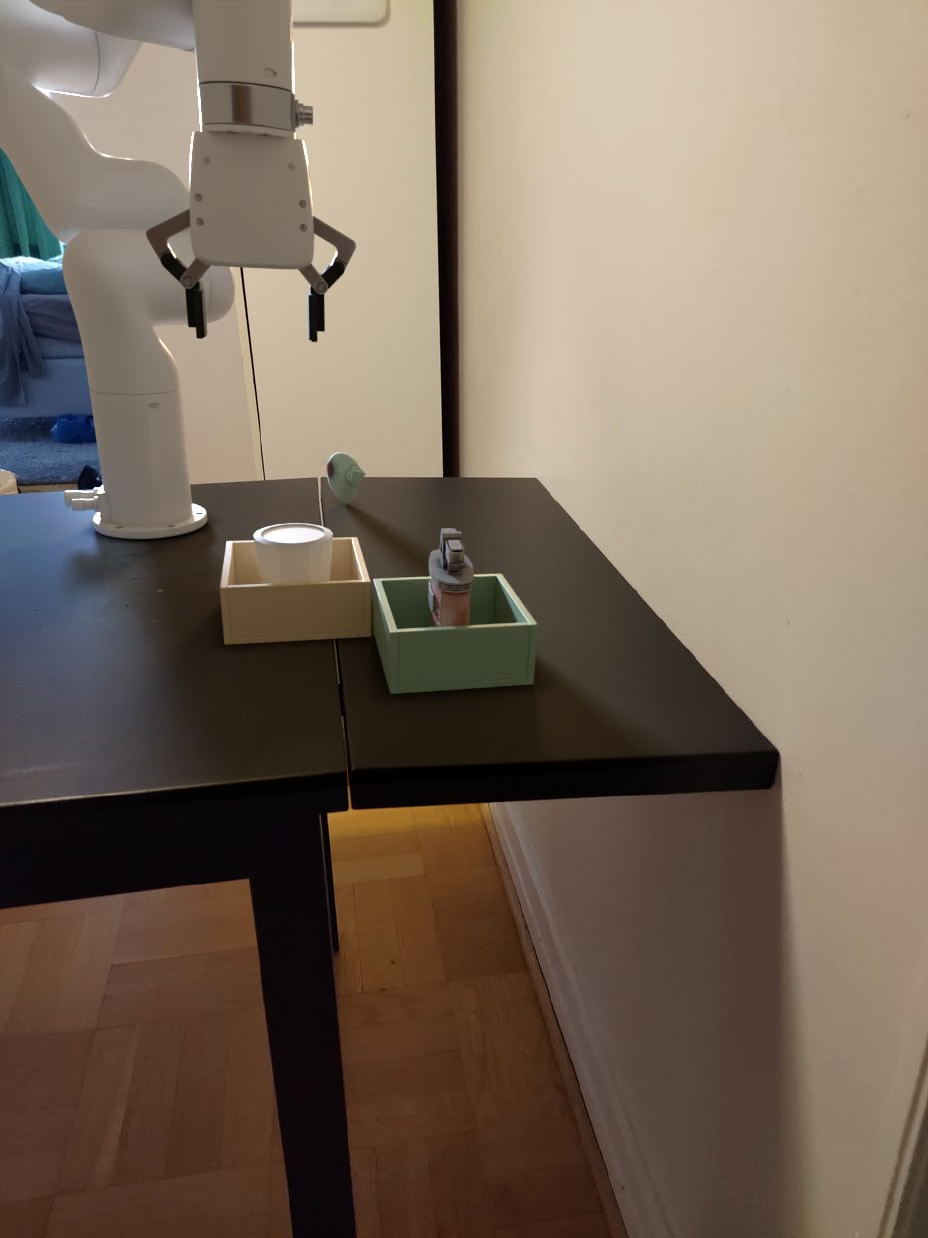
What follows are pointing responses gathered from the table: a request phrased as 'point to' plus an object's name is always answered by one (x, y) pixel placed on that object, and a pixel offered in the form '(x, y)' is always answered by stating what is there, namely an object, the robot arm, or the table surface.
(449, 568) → the lighter
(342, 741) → the table surface
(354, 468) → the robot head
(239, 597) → the beige bin
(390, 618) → the green bin
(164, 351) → the robot arm
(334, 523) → the table surface
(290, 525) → the white round tub
